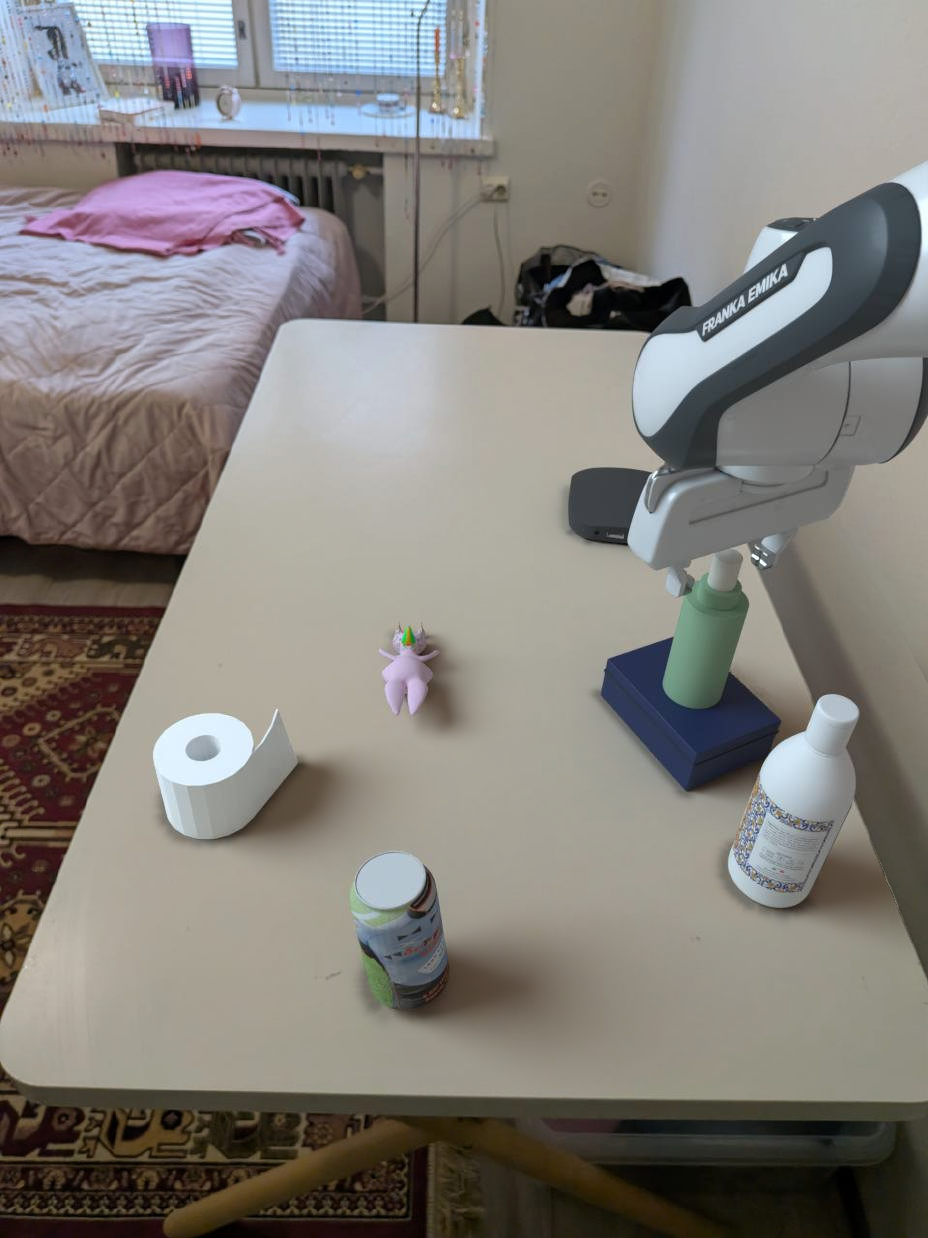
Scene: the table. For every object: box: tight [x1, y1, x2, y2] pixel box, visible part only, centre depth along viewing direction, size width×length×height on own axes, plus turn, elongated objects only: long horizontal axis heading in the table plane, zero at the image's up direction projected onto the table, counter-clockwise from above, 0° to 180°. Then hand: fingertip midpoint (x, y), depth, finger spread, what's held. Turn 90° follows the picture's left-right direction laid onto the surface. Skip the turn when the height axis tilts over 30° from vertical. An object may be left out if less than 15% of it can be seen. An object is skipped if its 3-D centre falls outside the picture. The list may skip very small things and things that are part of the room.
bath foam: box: [727, 693, 860, 909], centre depth 72 cm, size 7×7×20 cm
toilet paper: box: [152, 708, 299, 840], centre depth 81 cm, size 8×11×7 cm
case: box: [600, 635, 782, 792], centre depth 90 cm, size 14×10×5 cm
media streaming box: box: [567, 466, 654, 544], centre depth 120 cm, size 15×15×3 cm
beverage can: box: [348, 850, 450, 1011], centre depth 66 cm, size 6×7×12 cm
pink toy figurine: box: [378, 621, 440, 717], centre depth 93 cm, size 6×6×15 cm
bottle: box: [663, 548, 750, 709], centre depth 83 cm, size 6×6×16 cm
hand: (720, 578), depth 80 cm, fingers open, 8 cm apart
